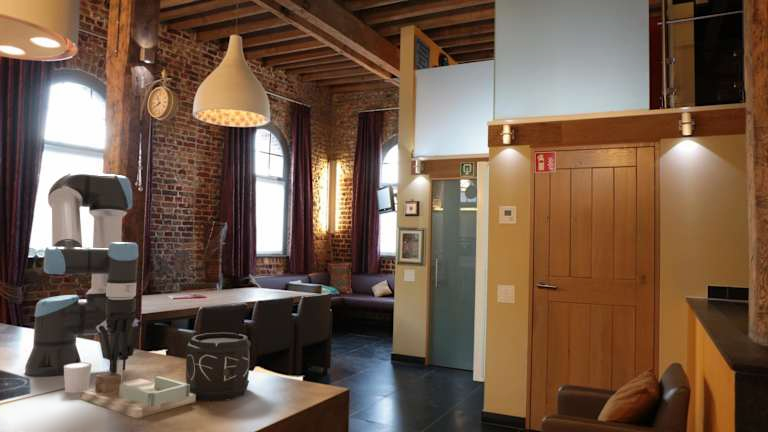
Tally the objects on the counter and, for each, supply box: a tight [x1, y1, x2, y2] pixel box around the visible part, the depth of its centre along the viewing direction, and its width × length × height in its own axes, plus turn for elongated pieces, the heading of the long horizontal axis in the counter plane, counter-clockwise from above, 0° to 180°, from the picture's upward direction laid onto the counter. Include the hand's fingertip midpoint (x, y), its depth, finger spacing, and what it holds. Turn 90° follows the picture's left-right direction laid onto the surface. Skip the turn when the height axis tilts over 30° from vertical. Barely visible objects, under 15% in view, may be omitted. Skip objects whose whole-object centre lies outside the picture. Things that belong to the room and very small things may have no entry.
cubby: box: [119, 375, 190, 407], centre depth 143 cm, size 14×12×3 cm
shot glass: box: [63, 362, 92, 394], centre depth 153 cm, size 7×7×7 cm
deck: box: [80, 378, 197, 419], centre depth 146 cm, size 25×17×2 cm
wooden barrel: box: [185, 332, 251, 402], centre depth 155 cm, size 18×18×16 cm
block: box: [94, 372, 121, 394], centre depth 147 cm, size 4×4×4 cm
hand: (116, 383), depth 150 cm, fingers closed
